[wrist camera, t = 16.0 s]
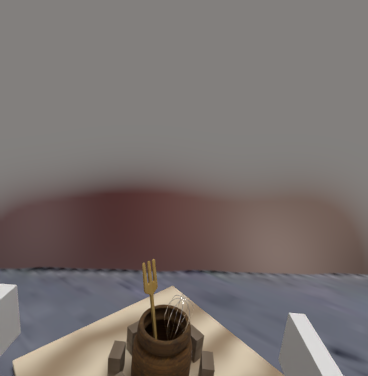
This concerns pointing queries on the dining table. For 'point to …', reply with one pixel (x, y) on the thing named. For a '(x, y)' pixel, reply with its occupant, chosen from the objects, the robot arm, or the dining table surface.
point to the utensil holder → (161, 336)
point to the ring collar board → (124, 338)
